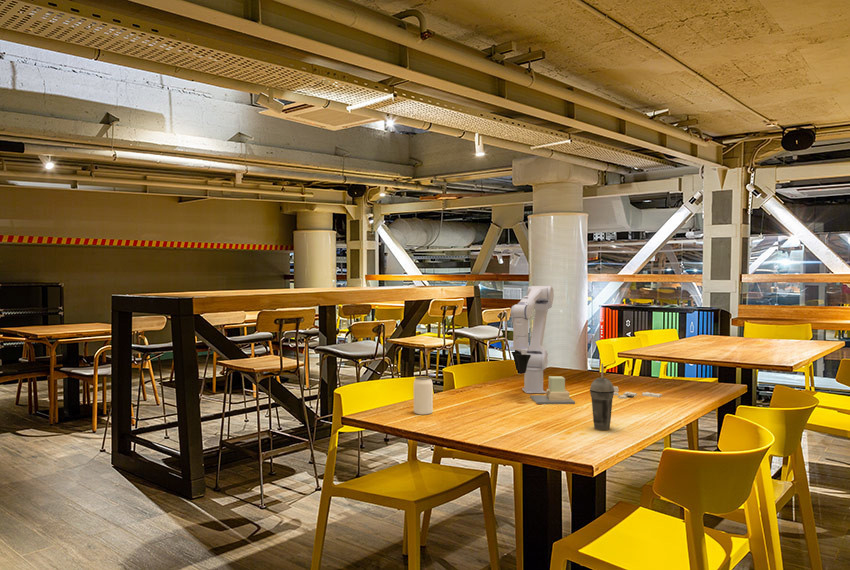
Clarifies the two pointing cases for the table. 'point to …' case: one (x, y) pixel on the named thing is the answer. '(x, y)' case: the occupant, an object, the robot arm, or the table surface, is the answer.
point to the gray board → (544, 400)
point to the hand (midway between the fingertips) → (520, 371)
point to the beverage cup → (602, 402)
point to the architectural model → (634, 394)
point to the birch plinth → (557, 395)
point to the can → (423, 395)
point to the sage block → (556, 384)
